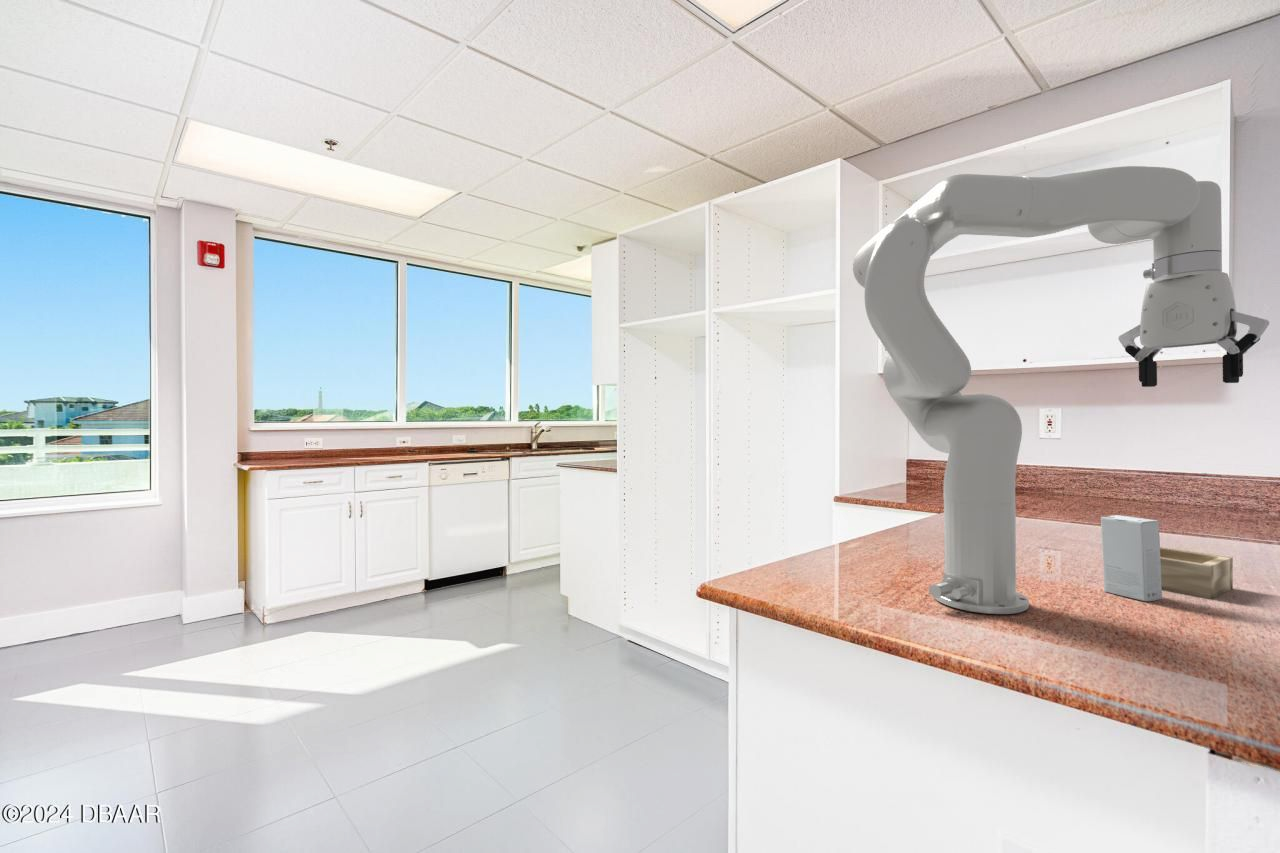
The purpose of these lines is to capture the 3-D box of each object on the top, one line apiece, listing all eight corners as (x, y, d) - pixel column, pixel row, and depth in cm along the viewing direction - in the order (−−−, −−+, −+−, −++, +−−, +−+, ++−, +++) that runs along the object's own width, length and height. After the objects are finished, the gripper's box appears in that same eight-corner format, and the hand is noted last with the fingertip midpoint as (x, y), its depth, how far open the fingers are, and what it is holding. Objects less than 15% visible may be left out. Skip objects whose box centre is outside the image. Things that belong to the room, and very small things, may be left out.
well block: (1210, 599, 91) (1210, 566, 91) (1126, 582, 100) (1126, 553, 100) (1232, 588, 95) (1232, 557, 95) (1150, 574, 105) (1150, 545, 104)
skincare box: (1163, 599, 91) (1163, 519, 91) (1144, 603, 90) (1143, 522, 89) (1119, 588, 97) (1118, 513, 97) (1100, 591, 95) (1099, 515, 95)
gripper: (1106, 280, 95) (1108, 388, 96) (1254, 252, 80) (1256, 381, 80) (1131, 284, 99) (1133, 387, 99) (1278, 258, 83) (1279, 381, 84)
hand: (1188, 384), depth 90 cm, fingers open, 9 cm apart
